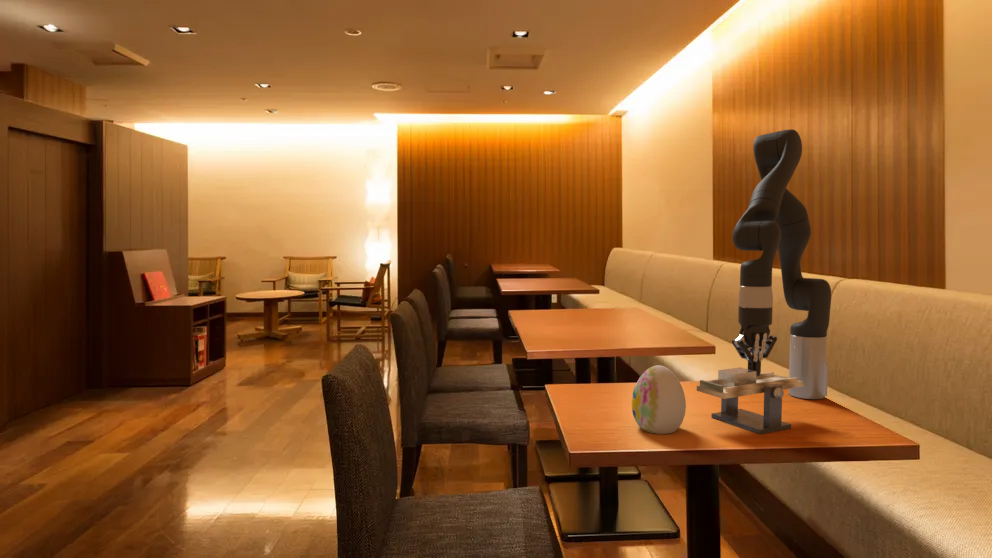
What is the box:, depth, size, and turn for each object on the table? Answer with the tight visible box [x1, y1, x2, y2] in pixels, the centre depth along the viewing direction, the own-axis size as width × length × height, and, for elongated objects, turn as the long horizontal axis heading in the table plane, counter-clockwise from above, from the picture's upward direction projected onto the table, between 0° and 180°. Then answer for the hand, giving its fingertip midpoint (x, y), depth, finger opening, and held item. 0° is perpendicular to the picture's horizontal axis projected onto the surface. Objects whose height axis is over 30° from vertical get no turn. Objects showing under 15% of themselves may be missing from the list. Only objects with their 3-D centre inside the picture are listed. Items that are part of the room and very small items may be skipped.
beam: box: [696, 371, 804, 399], centre depth 151 cm, size 26×11×3 cm, turn 115°
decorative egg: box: [631, 364, 687, 435], centre depth 147 cm, size 12×12×15 cm
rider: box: [717, 367, 756, 387], centre depth 149 cm, size 7×5×4 cm
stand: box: [711, 384, 792, 435], centre depth 151 cm, size 10×17×10 cm, turn 25°
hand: (754, 376), depth 151 cm, fingers closed
